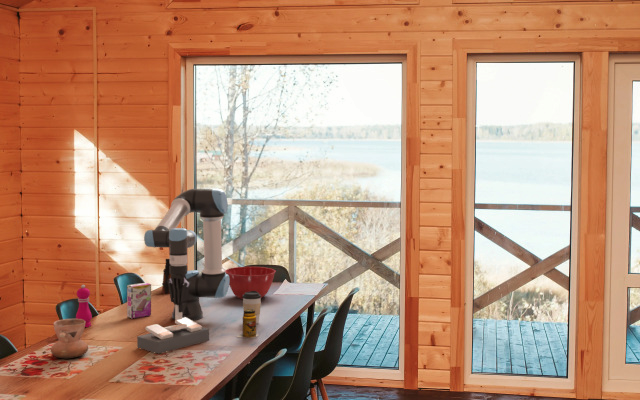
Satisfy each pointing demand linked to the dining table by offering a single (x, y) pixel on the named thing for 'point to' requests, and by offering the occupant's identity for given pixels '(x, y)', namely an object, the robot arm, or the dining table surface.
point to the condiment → (249, 324)
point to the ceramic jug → (69, 338)
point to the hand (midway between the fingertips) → (178, 319)
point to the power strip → (172, 340)
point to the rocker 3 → (189, 324)
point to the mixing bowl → (250, 280)
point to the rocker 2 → (175, 327)
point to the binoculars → (166, 277)
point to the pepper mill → (84, 306)
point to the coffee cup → (252, 302)
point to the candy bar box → (138, 300)
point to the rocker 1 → (159, 331)
